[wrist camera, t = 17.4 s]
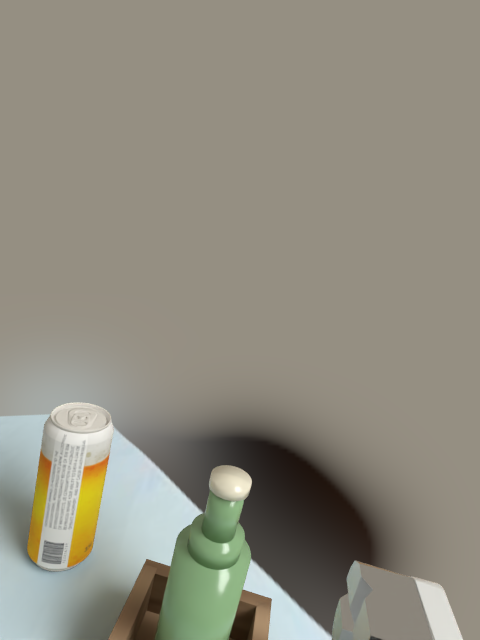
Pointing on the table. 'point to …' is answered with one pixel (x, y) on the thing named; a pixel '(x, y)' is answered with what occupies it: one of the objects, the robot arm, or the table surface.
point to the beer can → (69, 485)
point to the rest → (146, 600)
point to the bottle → (208, 565)
